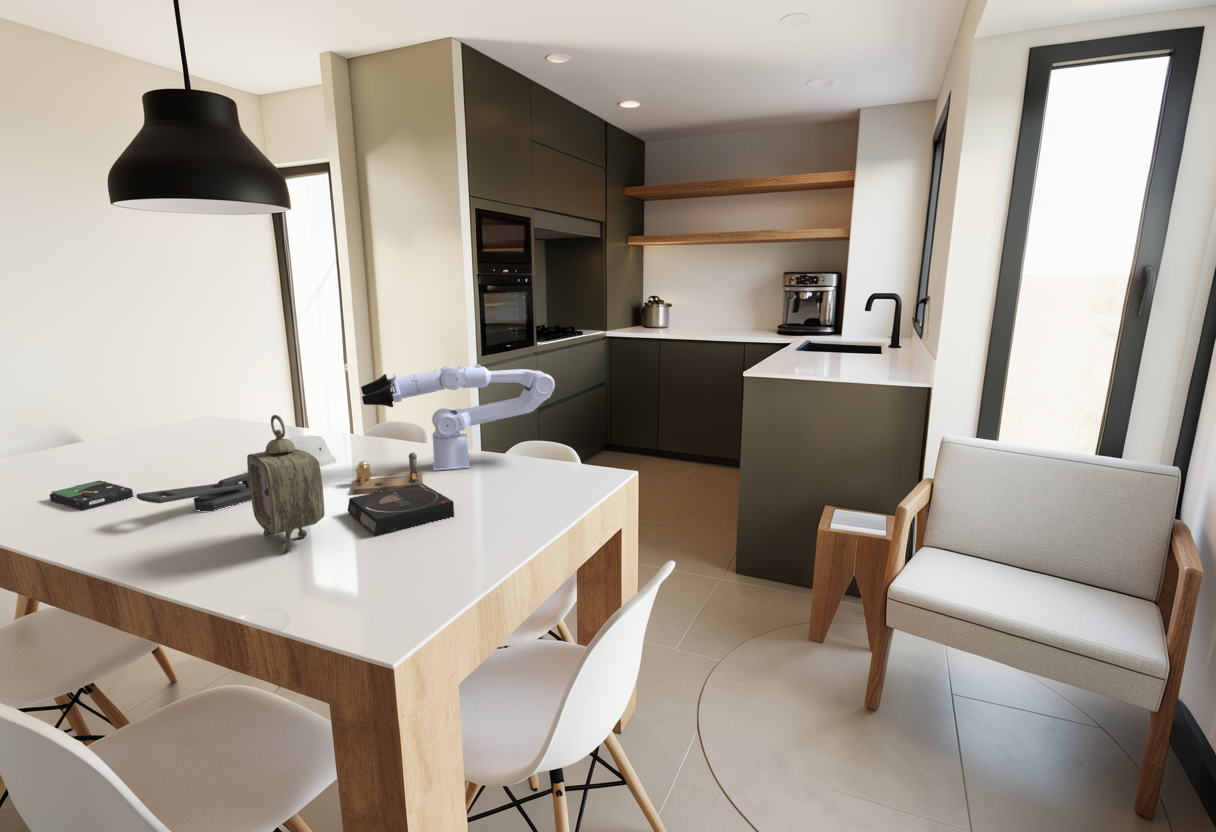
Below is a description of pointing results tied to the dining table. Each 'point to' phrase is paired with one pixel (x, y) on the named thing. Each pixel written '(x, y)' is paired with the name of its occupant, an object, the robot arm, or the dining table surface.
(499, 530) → the dining table surface
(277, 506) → the tabletop clock
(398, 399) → the robot arm
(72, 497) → the disk drive
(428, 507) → the portable cd player
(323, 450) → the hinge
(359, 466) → the gold perfume bottle
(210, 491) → the dark grey long piece
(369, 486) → the plate
